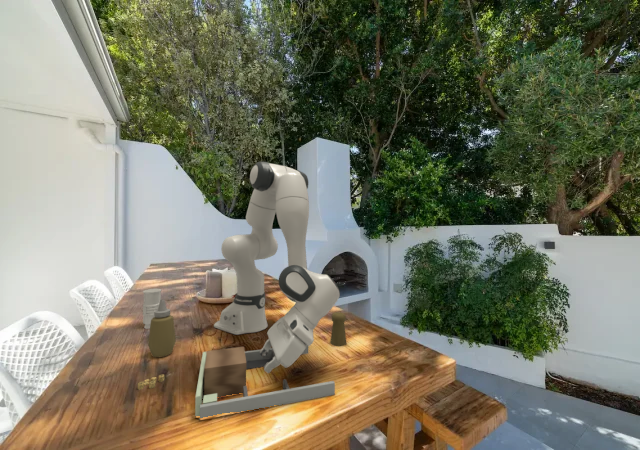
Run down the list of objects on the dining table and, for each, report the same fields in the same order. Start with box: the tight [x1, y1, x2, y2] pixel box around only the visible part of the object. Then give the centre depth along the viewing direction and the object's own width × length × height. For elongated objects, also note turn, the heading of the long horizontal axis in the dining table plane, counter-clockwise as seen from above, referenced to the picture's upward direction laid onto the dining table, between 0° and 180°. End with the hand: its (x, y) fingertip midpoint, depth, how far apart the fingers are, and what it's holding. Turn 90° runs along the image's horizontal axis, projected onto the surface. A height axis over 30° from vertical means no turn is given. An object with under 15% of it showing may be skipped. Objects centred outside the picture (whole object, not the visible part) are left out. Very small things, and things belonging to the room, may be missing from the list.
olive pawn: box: [330, 311, 347, 347], centre depth 104 cm, size 6×6×11 cm
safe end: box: [194, 351, 218, 417], centre depth 75 cm, size 4×23×5 cm, turn 19°
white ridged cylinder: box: [142, 288, 163, 330], centre depth 119 cm, size 7×7×15 cm
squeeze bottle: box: [147, 298, 177, 358], centre depth 94 cm, size 8×8×18 cm
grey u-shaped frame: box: [199, 345, 336, 419], centre depth 79 cm, size 32×25×3 cm
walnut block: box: [203, 346, 247, 398], centre depth 76 cm, size 10×10×8 cm
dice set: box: [137, 373, 165, 391], centre depth 77 cm, size 5×5×2 cm
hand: (263, 362), depth 79 cm, fingers open, 8 cm apart
